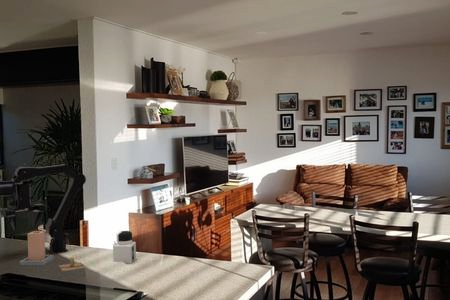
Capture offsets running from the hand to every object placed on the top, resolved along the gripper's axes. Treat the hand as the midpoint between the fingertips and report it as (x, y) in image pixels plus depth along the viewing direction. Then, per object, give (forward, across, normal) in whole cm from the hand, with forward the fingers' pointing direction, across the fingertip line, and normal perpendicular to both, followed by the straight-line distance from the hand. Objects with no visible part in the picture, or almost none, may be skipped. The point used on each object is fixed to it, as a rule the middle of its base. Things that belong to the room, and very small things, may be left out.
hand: (24, 228), depth 206 cm
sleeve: (+12, +3, +16) cm, 20 cm away
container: (+13, -22, +44) cm, 51 cm away
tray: (+13, +3, +16) cm, 21 cm away
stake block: (+13, -2, +35) cm, 37 cm away
